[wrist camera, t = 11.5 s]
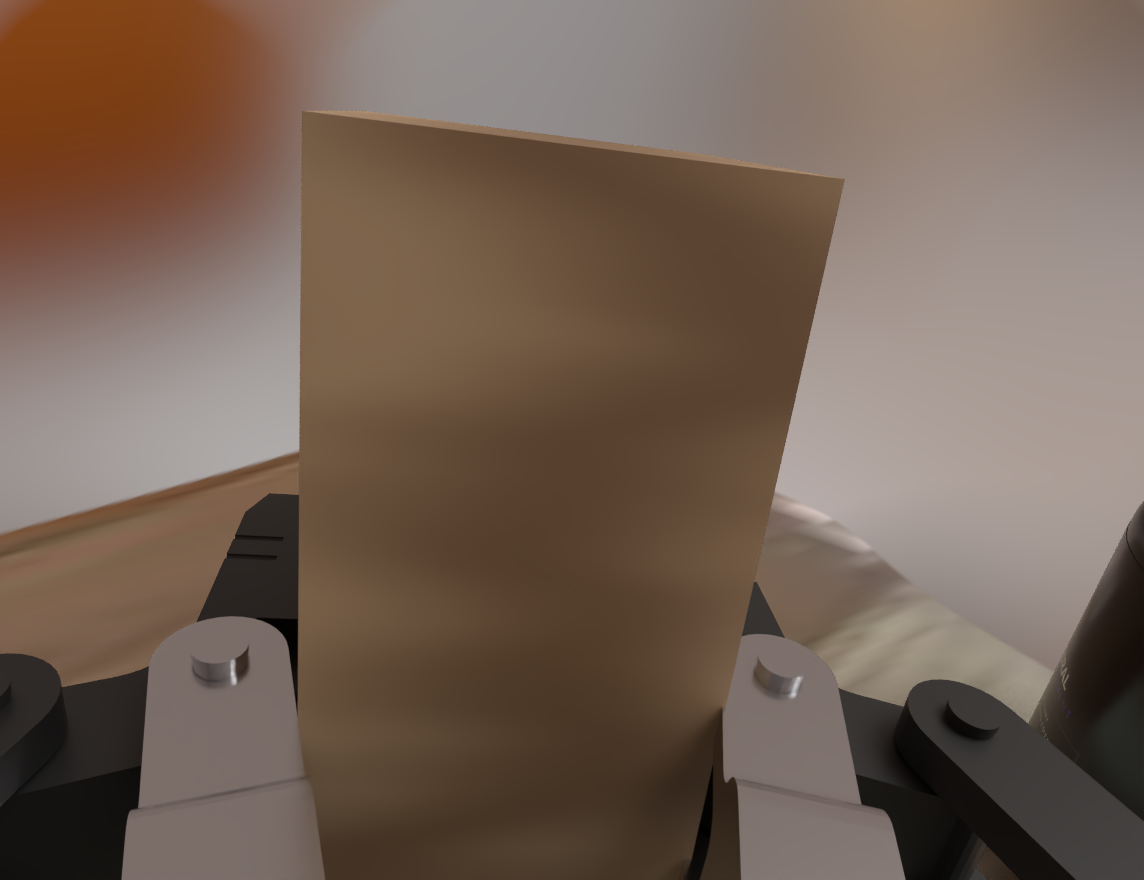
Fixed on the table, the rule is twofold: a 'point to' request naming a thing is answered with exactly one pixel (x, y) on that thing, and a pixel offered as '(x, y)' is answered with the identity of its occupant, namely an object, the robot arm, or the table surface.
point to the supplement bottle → (1105, 680)
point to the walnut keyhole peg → (533, 485)
